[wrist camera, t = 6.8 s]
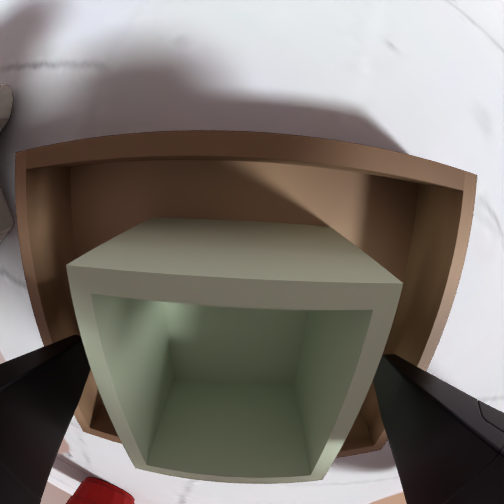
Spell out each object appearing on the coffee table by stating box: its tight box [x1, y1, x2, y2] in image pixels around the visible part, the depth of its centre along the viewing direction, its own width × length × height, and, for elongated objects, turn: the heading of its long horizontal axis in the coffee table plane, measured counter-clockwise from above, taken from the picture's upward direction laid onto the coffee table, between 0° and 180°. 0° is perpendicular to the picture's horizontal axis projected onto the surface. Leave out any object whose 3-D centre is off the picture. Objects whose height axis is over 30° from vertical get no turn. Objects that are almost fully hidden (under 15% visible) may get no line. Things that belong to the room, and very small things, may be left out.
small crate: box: [66, 217, 403, 484], centre depth 8 cm, size 7×6×5 cm
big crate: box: [15, 130, 477, 458], centre depth 9 cm, size 12×14×3 cm
